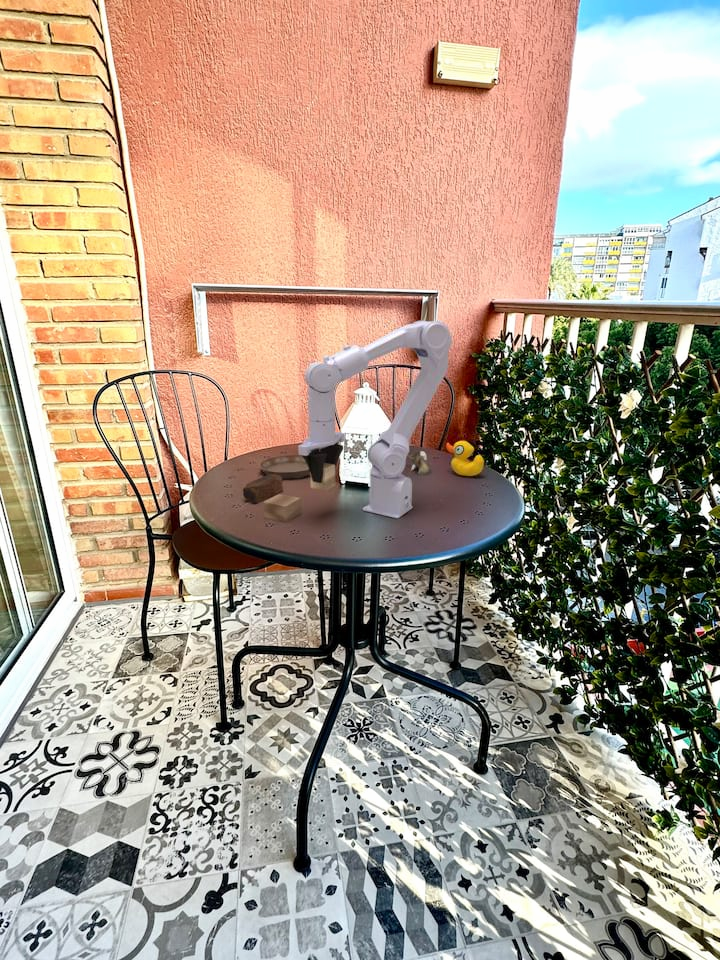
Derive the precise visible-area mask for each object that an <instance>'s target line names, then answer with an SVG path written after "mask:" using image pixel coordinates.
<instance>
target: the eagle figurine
mask: <svg viewBox="0 0 720 960" xmlns="http://www.w3.org/2000/svg"><path fill="white" fill-rule="evenodd" d="M406 458H409V459H410V460H411V462H412V466H411V469H410V471H411V472H412V471H413V470H415V468H417V467H418V472H417V474H418V475H420V476H424V477H426V476H427V475H429V474H431V472H432V470H431V467H430V465H429V464H428V463H427V462H426V461H427V459H428V458H427V454H426V452H425V451H422V450H421V451H419V450H415V452H411V454H410V455H409V454H408V455H407V457H406Z"/></svg>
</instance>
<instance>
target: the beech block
mask: <svg viewBox="0 0 720 960" xmlns="http://www.w3.org/2000/svg"><path fill="white" fill-rule="evenodd" d="M309 477H310V489H315V490H319V491H324V492H325V491H327V490H329V489H331V488H333V487H334V488H335V487H336V469H335V465H334V464H329V463H324V467H323V479H322V482H321V483H317V482H313V480H312V477H311V473H310V475H309Z"/></svg>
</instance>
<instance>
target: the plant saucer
mask: <svg viewBox="0 0 720 960" xmlns="http://www.w3.org/2000/svg"><path fill="white" fill-rule="evenodd" d="M258 466H259V468H260V470H262V472H263V473H264V474H266V476H267V475H269V474H275V475H280V476H281V477H282V480H291V478H294V479H300V477H301V478H304V476H305V477H307V476H310V470H309V467H308V465H307V463H306V461H305V460H304V458H303V457H302V455H299V454H287V455H286V454H284V455H278V456H272V457H269V458H267V459H263V460H262V461H261V462H260V463H259V464H258Z"/></svg>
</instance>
